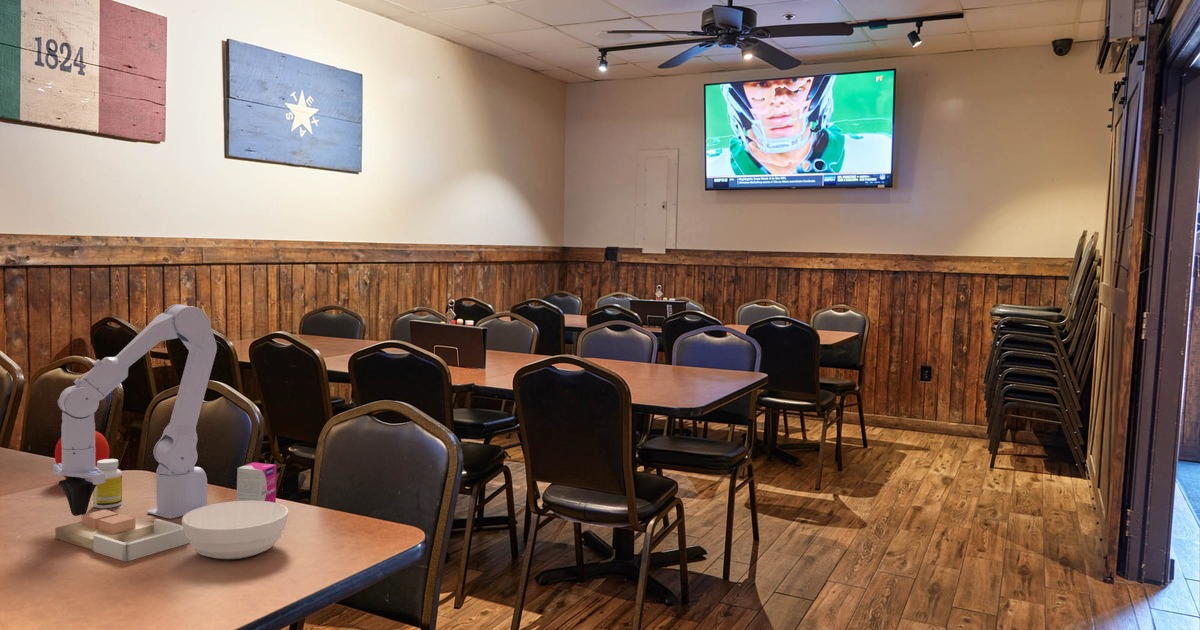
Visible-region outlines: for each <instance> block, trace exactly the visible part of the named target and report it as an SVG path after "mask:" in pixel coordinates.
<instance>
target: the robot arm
mask: <svg viewBox="0 0 1200 630" xmlns="http://www.w3.org/2000/svg"><path fill="white" fill-rule="evenodd" d="M174 339H180V341H181V343H183V345H184V346H185V348H186V349H187V350H188V354H187V358H186V362H185V366H184V370H183V372H182V377H181V380H180V384H179V388H178V392H177V395H176V399H175V402H174V406H173V409H172V413H171V416H170V421H169V423H168V424H167V425H166V427H164V429H163V432H162V435H161V437H160V438H159V440H158V441H157V442H156V444H155V445H154V447H153V451H152V452H153V457H154V459H155V461H156V462H158V466H157V468H156V473H155V474H156V480H155V481H156V483H155V484H156V488H155V489H156V492H155V494H156V496H155V497H156V507H155V508H152V509H148V510H146V511H147V514H151V515H154V516H158V517H162V518H166V519H168V520H170V519H176V518H178V517H183V516H184V515H185V514H186V513H188V512H190V511H192V510H194V509H197V508H200V507H203V506H207V505H208V478H207V473H206V472H205V470H204V469H203V468H202V467H200V466H195V465H196V464H197V461H198V459H199V458H198V450H197V444H198V434H197V425H198V421H199V418H200V413H201V410H202V406H203V403H204V399H205V396H206V395H205V394H206V391H207V388H208V383H209V380H210V376H211V374H212V369H213V365H214V362H215V358H216V354H217V351H218V346H217V341H216V338H215V335H214V333H213V329H212V320H211V319H210V318H209V316H208V315H207V314H206V313H205V312H204V311H203V310H202V309H201V308H199V307H197V306H192V305H191V306H188V305H185V304H182V303H181V304H180V303H177V304H176V303H175V304H172V305H170V306H168V307H167V308H166V309H165V311H164V312H161V313H160V314H158V315H156V316H155V318H153V320H151V322H149V323H148V324H147V326H146V327H144V329H142V330H141V331H140V332H139V333H138V334H137V335H136V336H135V337H134V338H133V339H132V340H131V341H130V342H129V343H128V344H126V346H125V347H123V349H122V350H121V351H119V352H118V354H116V355H115V356H105V357H104V358H102V359H101V360H100V359H96V360H95V361H94V362H93V363H92V365H93V366H94V367H93V366H92V368H90V370H89V371H88V372H87V373H85V374H84V375H83V376H82V377H81V378H80V379H79V377H78V378H76V379H75V380H74V381H73V383H74V384H75V385H72V386H71V385H70V386H68V387H66V388H64V390H62V392H60V395H59V398H58V399H57V406H58V407H59V409H60V410H61V411H62V412H61V415H62V416H61V420H62V422H61V430H60V431H61V437H62V463H59V464H56V463H54V464H53V468H52V469H53V470H52V471H53V474H54V475H55V476H56V477H57V476H58V477H60V478H61V477H63V476H67V478H65V479H62V480H59V481H58V485H59V486H60V487H61V489H62V490H63V492H64V494H65V496H66V497H65V498H66V499H67V502H68V506H69V508H70V509H69V510H70V511H71V515H72V516H75V517H78V516H82V515H83V514H87V512H88V509H89V505H90V502H91V498H92V496H93V491H94V489H95V487H96V486H97V484H101V483H105V473H103V472H101V471H100V470H99V469H98V468H97V467H96V466H95V431H96V423H95V413H96V412H97V410H98V409H99V406H100V401H102V400H104V399H105V398H106V397H107V396H108V395H110V393H112V392H113V391H114V390H115V389H116V388H117V387H118V386H119V385H120V384H121V383H122V382H124V381H125V380H126V379H127V378H128V377H129V368H130V367H131V366H132V365H133V364H135V363H136V362H137V361H138V360H139V359H141V358H142V357H143V356H144V355H146V354H147V353H148V352H149V351H150V350H152V348H154V347H155V346H157V345H158V344H159V343H160V342H162V341H168V340H174Z"/></svg>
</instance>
